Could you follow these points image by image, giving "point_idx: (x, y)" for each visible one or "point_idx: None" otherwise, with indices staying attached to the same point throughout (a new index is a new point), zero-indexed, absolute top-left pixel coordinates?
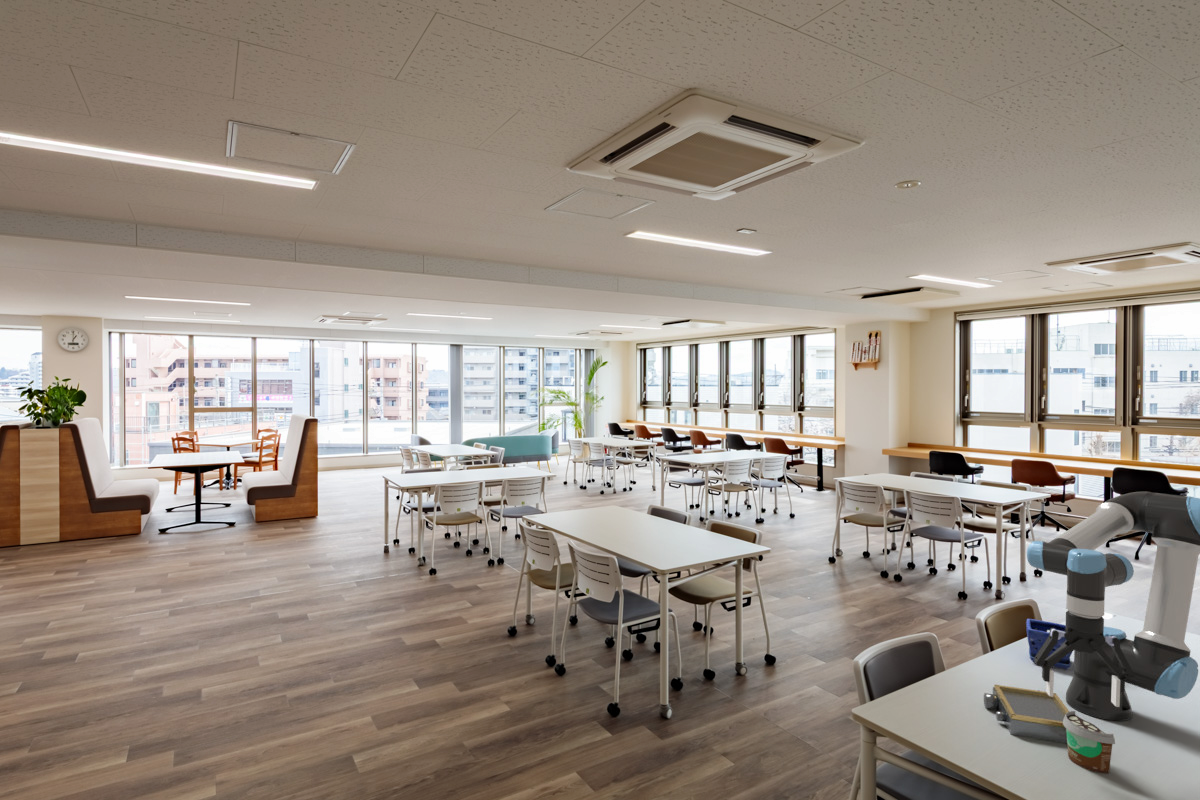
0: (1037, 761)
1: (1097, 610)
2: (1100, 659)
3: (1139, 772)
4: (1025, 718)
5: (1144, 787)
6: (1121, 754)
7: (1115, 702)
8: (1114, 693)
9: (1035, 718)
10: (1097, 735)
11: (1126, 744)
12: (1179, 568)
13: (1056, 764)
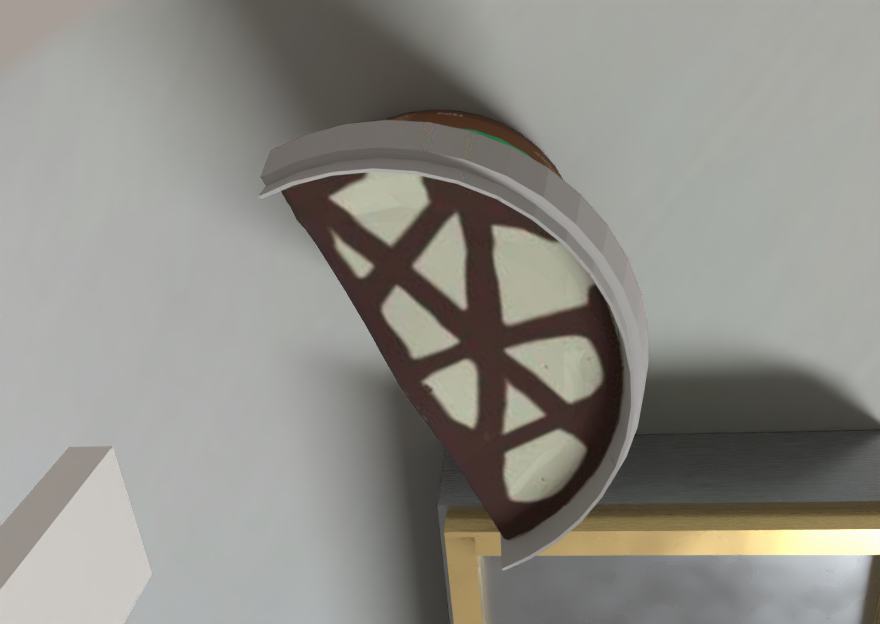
0: (842, 87)
1: None
2: None
3: (174, 230)
4: (832, 523)
5: (174, 19)
6: (238, 421)
7: (88, 489)
8: (37, 620)
9: (755, 539)
10: (416, 150)
11: (191, 545)
12: None
13: (704, 102)
